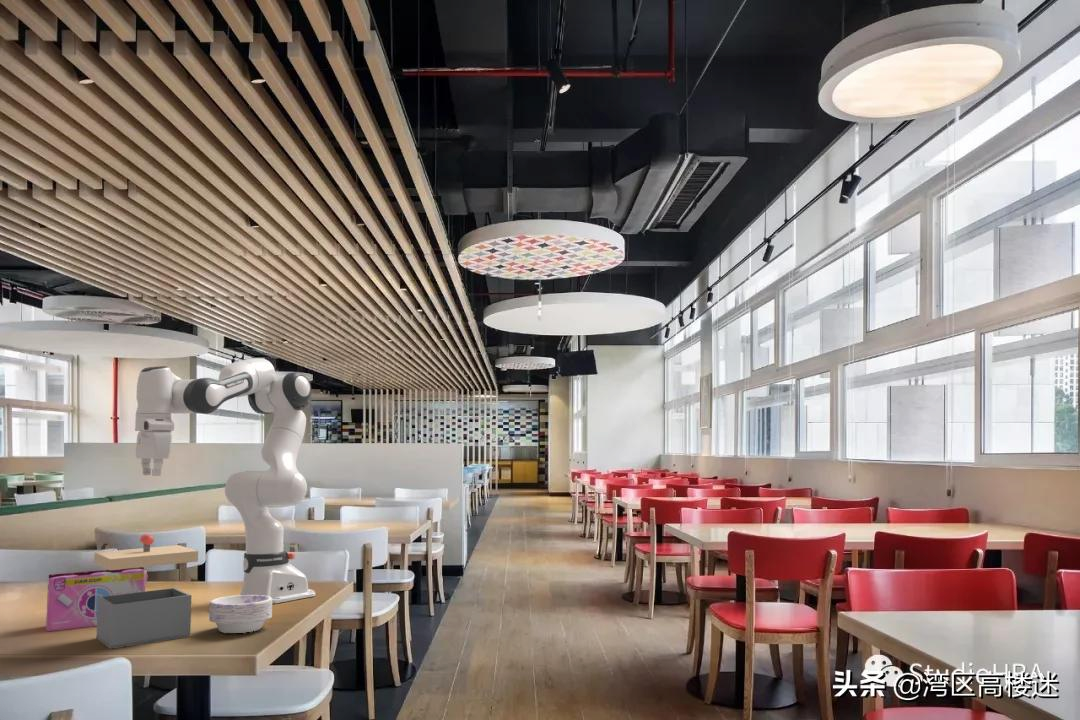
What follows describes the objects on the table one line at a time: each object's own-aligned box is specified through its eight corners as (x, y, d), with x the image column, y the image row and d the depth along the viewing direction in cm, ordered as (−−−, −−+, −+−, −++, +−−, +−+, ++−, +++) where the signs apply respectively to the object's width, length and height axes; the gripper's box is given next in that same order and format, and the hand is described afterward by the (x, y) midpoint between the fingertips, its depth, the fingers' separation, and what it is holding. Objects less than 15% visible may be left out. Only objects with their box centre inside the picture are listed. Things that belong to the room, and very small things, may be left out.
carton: (173, 626, 212) (174, 587, 213) (190, 636, 202) (191, 595, 202) (96, 638, 201) (98, 596, 202) (110, 649, 190) (112, 605, 191)
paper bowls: (275, 622, 217) (276, 592, 217) (266, 635, 202) (267, 603, 202) (215, 625, 214) (216, 594, 215) (202, 639, 199) (203, 605, 200)
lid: (178, 554, 215) (179, 529, 216) (197, 561, 203) (198, 533, 204) (94, 562, 202) (95, 535, 203) (109, 570, 190) (111, 540, 191)
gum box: (144, 615, 228) (146, 565, 229) (148, 620, 221) (150, 569, 222) (45, 626, 215) (47, 574, 216) (46, 632, 208) (48, 578, 209)
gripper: (130, 425, 228) (128, 475, 227) (151, 423, 213) (149, 477, 211) (154, 425, 232) (152, 474, 231) (176, 423, 217) (174, 476, 215)
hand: (151, 475), depth 221 cm, fingers open, 8 cm apart
